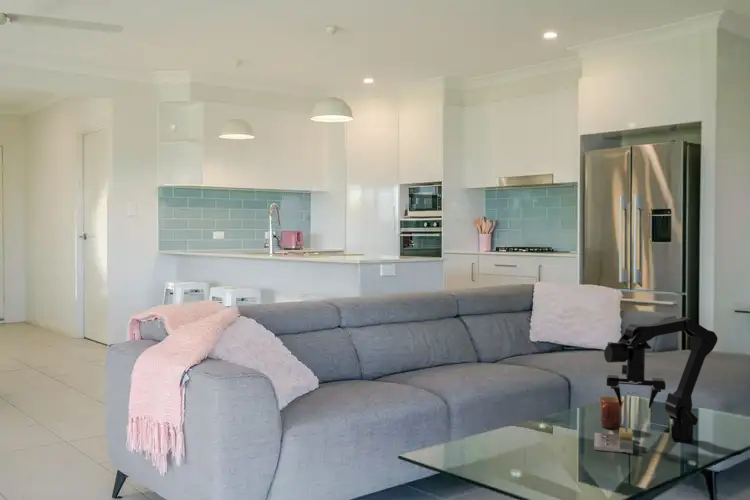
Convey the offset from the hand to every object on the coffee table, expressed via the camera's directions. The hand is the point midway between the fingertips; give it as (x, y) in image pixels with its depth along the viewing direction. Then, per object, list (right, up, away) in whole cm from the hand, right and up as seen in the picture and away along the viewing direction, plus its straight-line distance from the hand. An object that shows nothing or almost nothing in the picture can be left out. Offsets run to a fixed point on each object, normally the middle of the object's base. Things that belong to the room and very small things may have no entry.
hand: (634, 407), depth 250 cm
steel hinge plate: (-8, -12, -2) cm, 15 cm away
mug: (-3, -11, +17) cm, 21 cm away
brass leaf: (-4, -11, -3) cm, 12 cm away
